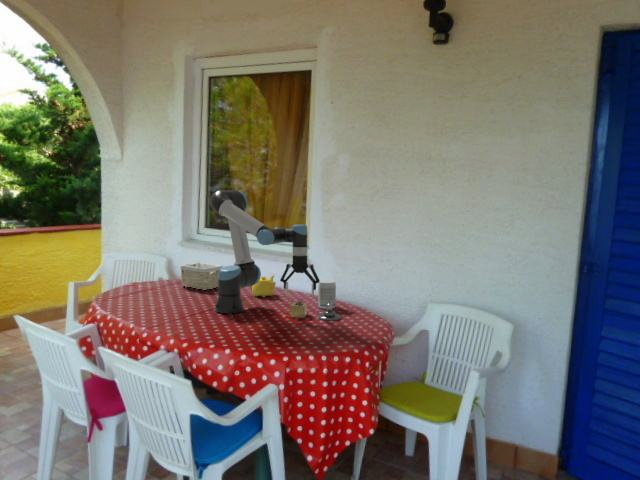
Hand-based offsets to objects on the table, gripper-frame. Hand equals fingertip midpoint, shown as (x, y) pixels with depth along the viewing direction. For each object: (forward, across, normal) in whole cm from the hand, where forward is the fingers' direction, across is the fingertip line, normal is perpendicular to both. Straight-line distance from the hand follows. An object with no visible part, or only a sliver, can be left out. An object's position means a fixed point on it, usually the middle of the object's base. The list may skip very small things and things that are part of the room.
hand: (299, 295), depth 253 cm
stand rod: (+11, 0, 0) cm, 11 cm away
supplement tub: (+11, +12, +20) cm, 26 cm away
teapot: (+10, -28, +40) cm, 50 cm away
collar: (+11, 0, 0) cm, 11 cm away
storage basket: (+10, -74, +53) cm, 91 cm away
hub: (+11, +16, 0) cm, 19 cm away
